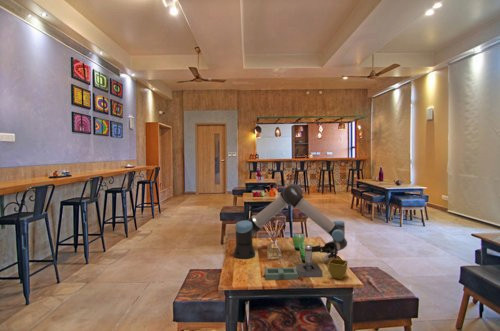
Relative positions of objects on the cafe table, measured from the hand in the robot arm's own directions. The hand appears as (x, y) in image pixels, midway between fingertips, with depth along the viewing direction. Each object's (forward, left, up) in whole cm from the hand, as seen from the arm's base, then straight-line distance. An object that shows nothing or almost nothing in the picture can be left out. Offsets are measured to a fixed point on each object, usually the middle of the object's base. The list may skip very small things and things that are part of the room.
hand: (314, 255), depth 181 cm
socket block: (+4, -5, -9) cm, 11 cm away
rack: (+8, -22, -9) cm, 25 cm away
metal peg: (+4, -5, -9) cm, 11 cm away
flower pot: (+12, +10, -9) cm, 18 cm away
